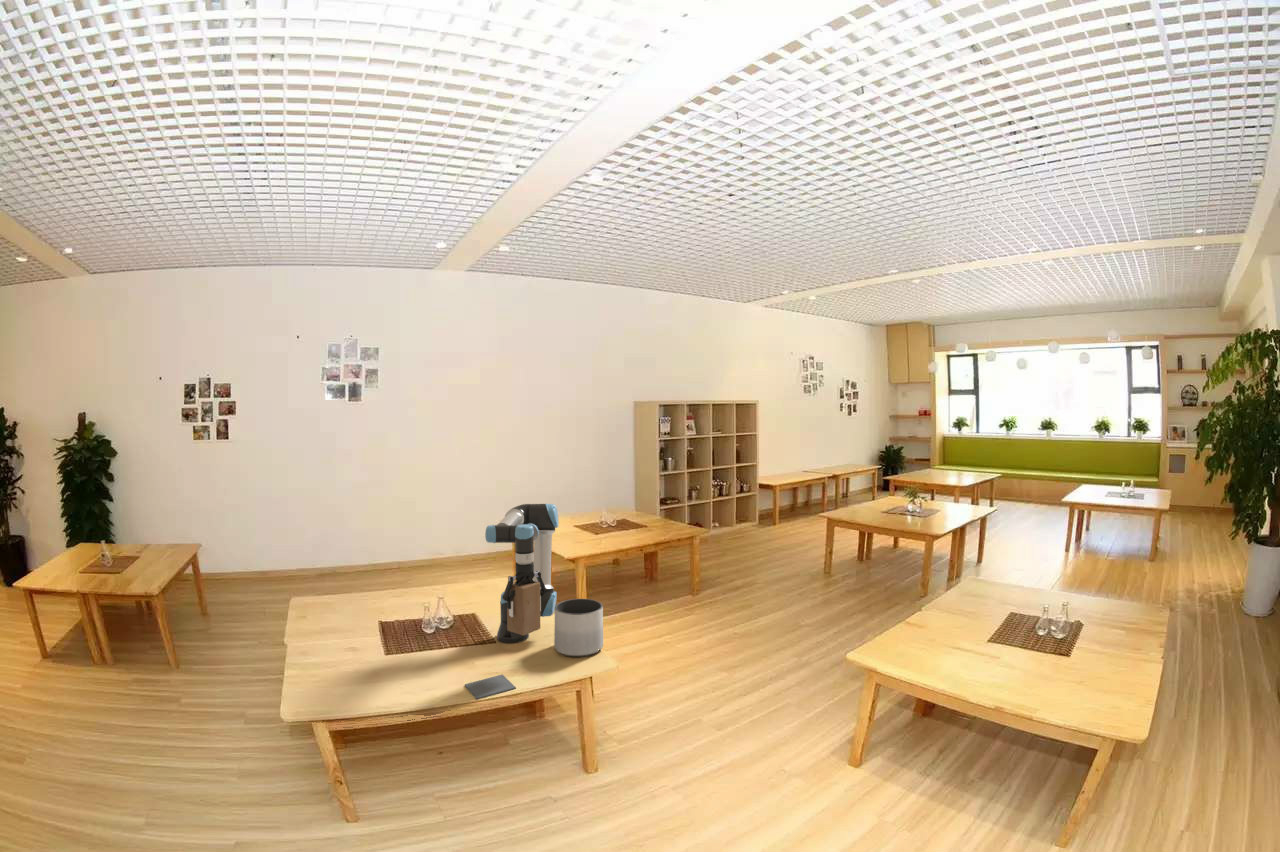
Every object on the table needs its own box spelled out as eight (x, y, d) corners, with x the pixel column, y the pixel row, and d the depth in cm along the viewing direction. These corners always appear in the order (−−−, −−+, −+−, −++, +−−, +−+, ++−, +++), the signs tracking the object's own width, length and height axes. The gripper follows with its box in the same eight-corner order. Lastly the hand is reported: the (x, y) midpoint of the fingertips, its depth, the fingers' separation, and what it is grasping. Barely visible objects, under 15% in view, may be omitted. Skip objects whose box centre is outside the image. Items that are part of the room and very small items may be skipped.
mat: (464, 685, 246) (464, 684, 246) (502, 675, 255) (502, 674, 255) (476, 699, 235) (476, 698, 235) (515, 688, 244) (515, 687, 244)
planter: (545, 646, 286) (545, 604, 285) (586, 635, 299) (586, 595, 299) (570, 663, 268) (570, 618, 267) (612, 650, 281) (612, 607, 281)
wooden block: (523, 636, 251) (523, 588, 250) (506, 630, 257) (506, 583, 256) (540, 628, 259) (540, 582, 258) (524, 623, 265) (523, 578, 264)
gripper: (500, 568, 246) (501, 621, 247) (554, 559, 260) (554, 610, 261) (493, 564, 253) (494, 616, 254) (546, 556, 266) (547, 605, 267)
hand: (525, 613), depth 257 cm, fingers closed on wooden block, 12 cm apart
